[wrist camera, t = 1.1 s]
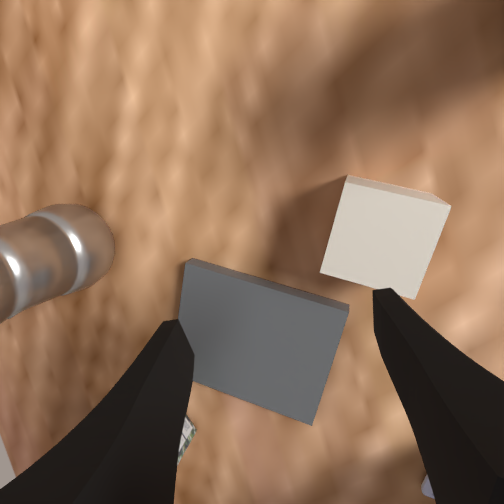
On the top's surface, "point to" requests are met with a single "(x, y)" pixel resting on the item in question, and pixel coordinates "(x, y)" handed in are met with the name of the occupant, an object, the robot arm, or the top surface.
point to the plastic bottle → (51, 255)
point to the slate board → (260, 338)
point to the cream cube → (384, 235)
